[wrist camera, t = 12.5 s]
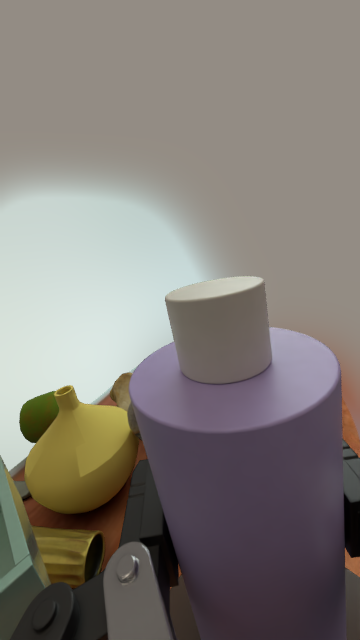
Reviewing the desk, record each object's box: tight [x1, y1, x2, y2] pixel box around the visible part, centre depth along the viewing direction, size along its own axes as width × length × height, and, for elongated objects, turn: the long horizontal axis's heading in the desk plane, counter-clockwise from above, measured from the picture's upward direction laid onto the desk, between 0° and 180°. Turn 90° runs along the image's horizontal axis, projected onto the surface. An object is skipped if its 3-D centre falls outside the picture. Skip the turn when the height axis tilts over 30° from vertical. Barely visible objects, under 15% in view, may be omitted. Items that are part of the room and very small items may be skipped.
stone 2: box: [110, 373, 132, 412], centre depth 61 cm, size 17×18×10 cm
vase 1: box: [24, 385, 139, 514], centre depth 42 cm, size 18×18×19 cm
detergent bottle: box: [129, 276, 347, 640], centre depth 8 cm, size 5×5×14 cm
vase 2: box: [31, 526, 105, 588], centre depth 32 cm, size 6×6×14 cm
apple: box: [19, 391, 59, 443], centre depth 59 cm, size 11×11×11 cm
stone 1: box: [13, 481, 31, 499], centre depth 45 cm, size 13×2×5 cm
